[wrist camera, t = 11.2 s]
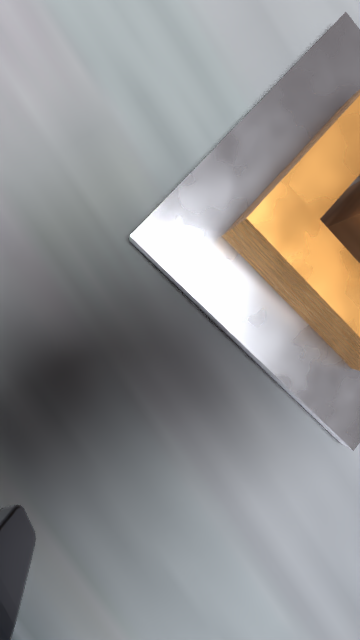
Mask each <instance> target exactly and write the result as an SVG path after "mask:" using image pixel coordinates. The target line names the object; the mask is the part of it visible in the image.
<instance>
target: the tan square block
mask: <svg viewBox="0 0 360 640" xmlns="http://www.w3.org/2000/svg"><path fill="white" fill-rule="evenodd" d="M320 220H321V221H322V222H323V223H324V224H325V226H326V227H327V228H328V229H329V230H330V231H331V232H332V233H333V234H334V236H335V237H336V238H337V239H338V240H339V241H340V242H341V243H342V244H343V245H344V247H345V248H346V249H347V250H348V251H349V252H350V253H351V254H352V255H353V256H354V258H355V259H356V260H357V261H358V262H359V263H360V181H359V182H357V183H355V184H354V185H352V186H350V187H348V188H347V190H346V191H345V192H344V193H343V194H342V195H341V196H340V197H339V199H338V200H337V201H336V202H335V203H334V204H333V205H332V207H331V208H330V209H329V210H328V211H327V212H326V213H325V214H324V216H323V217H322V218H321V219H320Z"/></svg>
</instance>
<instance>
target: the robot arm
mask: <svg viewBox="0 0 360 640" xmlns="http://www.w3.org/2000/svg"><path fill="white" fill-rule="evenodd" d="M35 540H36V536H35V531H34V529H33V526H32V524H31V522H30V520H29V518H28V516H27V514H26V512H25V509H24V508H23V507H22V506H21V505H13V506H9V507H4V508H2V509H0V640H11V637H12V634H13V631H14V627H15V624H16V620H17V616H18V613H19V609H20V604H21V600H22V596H23V592H24V588H25V584H26V580H27V576H28V572H29V567H30V563H31V559H32V555H33V551H34V547H35Z"/></svg>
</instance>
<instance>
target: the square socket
mask: <svg viewBox="0 0 360 640" xmlns="http://www.w3.org/2000/svg"><path fill="white" fill-rule="evenodd" d="M359 181H360V29H359V28H358V27H357V25H356V24H355V23H354V22H353V20H352V19H351V18H350V17H349V15H348V14H347V13H346V12H345V13H344V14H343V15H342V16H341V17H340V19H339V20H338V21H337V22H336V23H335V24H334V25H333V26H332V27H331V28H330V29H329V30H328V31H327V32H326V33H325V34H324V35H323V36H322V37H321V38H320V39H319V40H318V41H317V42H316V43H315V44H314V45H313V46H312V48H311V49H310V50H309V51H308V52H307V53H306V54H305V55H304V56H303V57H302V58H301V59H300V60H299V61H298V62H297V63H296V64H295V65H294V66H293V67H292V68H291V69H290V70H289V71H288V72H287V73H286V74H285V75H284V77H283V78H282V79H281V80H280V81H279V82H278V83H277V84H276V85H275V86H274V87H273V88H272V89H271V90H270V91H269V92H268V93H267V94H266V95H265V96H264V97H263V98H262V99H261V100H260V101H259V102H258V103H257V104H256V106H255V107H254V108H253V109H252V110H251V111H250V112H249V113H248V114H247V115H246V116H245V117H244V118H243V119H242V120H241V121H240V122H239V123H238V124H237V125H236V126H235V127H234V128H233V129H232V130H231V131H230V132H229V133H228V135H227V136H226V137H225V138H224V139H223V140H222V141H221V142H220V143H219V144H218V145H217V146H216V147H215V148H214V149H213V150H212V151H211V152H210V153H209V154H208V155H207V156H206V157H205V158H204V159H203V160H202V161H201V162H200V163H199V165H198V166H197V167H196V168H195V169H194V170H193V171H192V172H191V173H190V174H189V175H188V176H187V177H186V178H185V179H184V180H183V181H182V182H181V183H180V184H179V185H178V186H177V187H176V188H175V189H174V190H173V191H172V192H171V194H170V195H169V196H168V197H167V198H166V199H165V200H164V201H163V202H162V203H161V204H160V205H159V206H158V207H157V208H156V209H155V210H154V211H153V212H152V213H151V214H150V215H149V216H148V217H147V218H146V219H145V220H144V221H143V223H142V224H141V225H140V226H139V227H138V228H137V229H136V230H135V231H134V232H133V233H132V234H131V235H130V238H129V241H130V242H131V243H132V244H133V245H134V246H135V247H136V248H137V249H138V250H140V251H141V252H142V253H143V254H144V255H145V256H146V257H147V258H148V259H149V260H150V261H151V262H152V263H153V264H154V265H155V266H156V267H157V268H158V269H159V270H160V271H161V272H162V273H164V274H165V275H166V276H167V277H168V278H169V279H170V280H171V281H172V282H173V283H174V284H175V285H176V286H177V287H178V288H179V289H180V290H181V291H182V292H183V293H184V294H185V295H186V296H187V297H189V298H190V299H191V300H192V301H193V302H194V303H195V304H196V305H197V306H198V307H199V308H200V309H201V310H202V311H203V312H204V313H205V314H206V315H207V316H208V317H209V318H210V319H211V320H213V321H214V322H215V323H216V324H217V325H218V326H219V327H220V328H221V329H222V330H223V331H224V332H225V333H226V334H227V335H228V336H229V337H230V338H231V339H232V340H233V341H234V342H235V343H236V344H238V345H239V346H240V347H241V348H242V349H243V350H244V351H245V352H246V353H247V354H248V355H249V356H250V357H251V358H252V359H253V360H254V361H255V362H256V363H257V364H258V365H259V366H260V367H262V368H263V369H264V370H265V371H266V372H267V373H268V374H269V375H270V376H271V377H272V378H273V379H274V380H275V381H276V382H277V383H278V384H279V385H280V386H281V387H282V388H283V389H284V390H285V391H287V392H288V393H289V394H290V395H291V396H292V397H293V398H294V399H295V400H296V401H297V402H298V403H299V404H300V405H301V406H302V407H303V408H304V409H305V410H306V411H307V412H308V413H309V414H311V415H312V416H313V417H314V418H315V419H316V420H317V421H318V422H319V423H320V424H321V425H322V426H323V427H324V428H325V429H326V430H327V431H328V432H329V433H330V434H331V435H332V436H333V437H334V438H336V439H337V440H338V441H339V442H340V443H341V444H343V445H344V446H346V447H348V448H349V449H351V450H354V449H355V448H356V447H357V445H358V444H359V443H360V263H359V262H358V261H357V260H356V259H355V258H354V256H353V255H352V254H351V253H350V252H349V251H348V250H347V249H346V248H345V247H344V245H343V244H342V243H341V242H340V241H339V240H338V239H337V238H336V237H335V236H334V234H333V233H332V232H331V231H330V230H329V229H328V228H327V227H326V226H325V224H324V223H323V222H322V221H321V220H320V219H321V218H322V217H323V216H324V214H325V213H326V212H327V211H328V210H329V209H330V208H331V207H332V205H333V204H334V203H335V202H336V201H337V200H338V199H339V197H340V196H341V195H342V194H343V193H344V192H345V191H346V190H347V188H348V187H350V186H352V185H354V184H355V183H357V182H359Z"/></svg>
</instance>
